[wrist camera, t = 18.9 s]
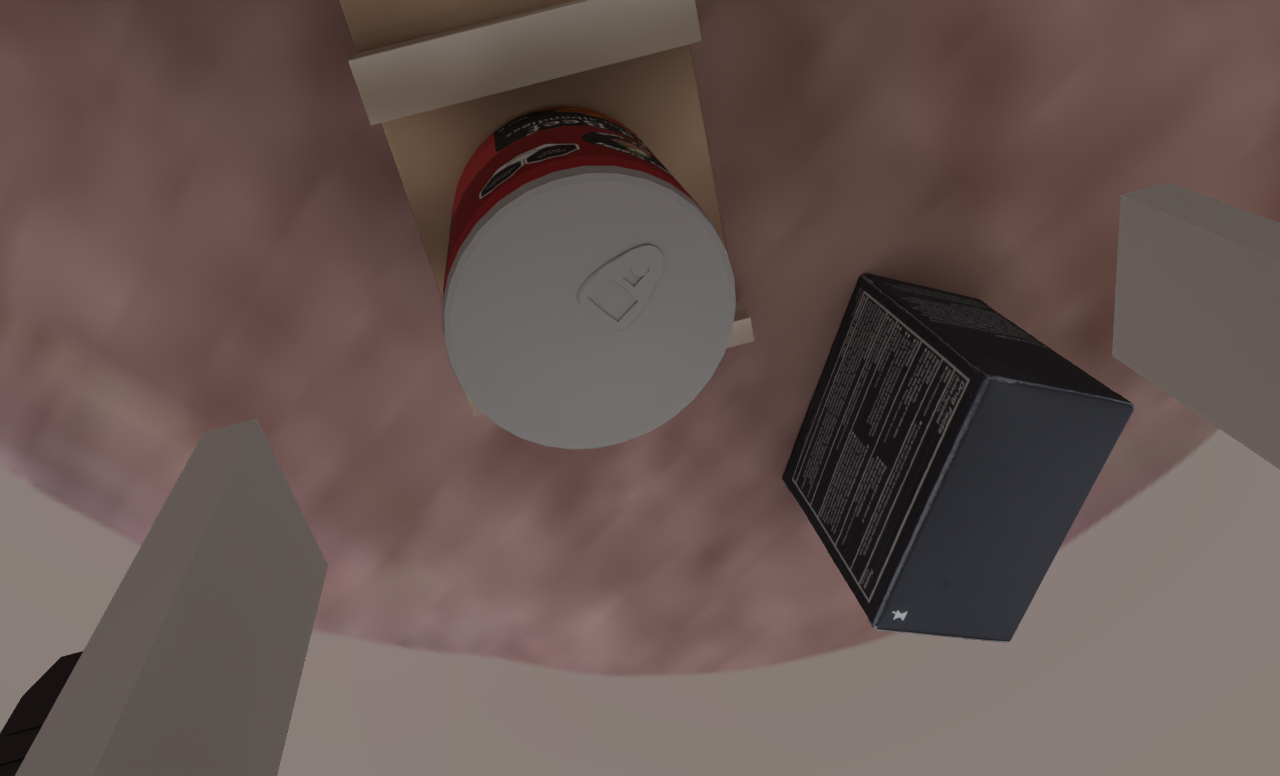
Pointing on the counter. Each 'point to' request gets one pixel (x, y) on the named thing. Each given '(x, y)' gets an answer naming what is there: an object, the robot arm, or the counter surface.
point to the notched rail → (526, 89)
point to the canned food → (581, 283)
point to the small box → (947, 459)
